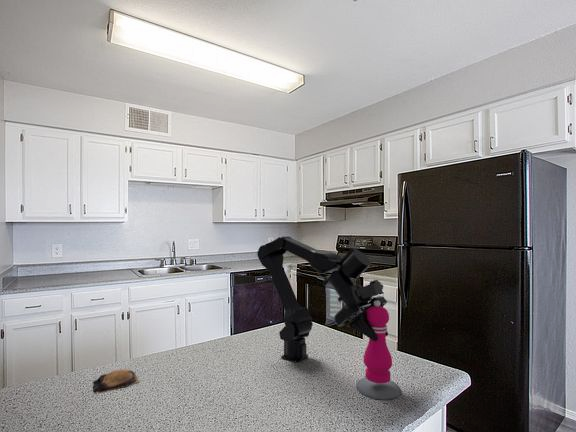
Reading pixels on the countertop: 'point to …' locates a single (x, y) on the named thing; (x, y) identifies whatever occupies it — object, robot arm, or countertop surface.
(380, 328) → the pepper mill
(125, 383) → the brown oval lump
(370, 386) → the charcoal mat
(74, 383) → the countertop surface
